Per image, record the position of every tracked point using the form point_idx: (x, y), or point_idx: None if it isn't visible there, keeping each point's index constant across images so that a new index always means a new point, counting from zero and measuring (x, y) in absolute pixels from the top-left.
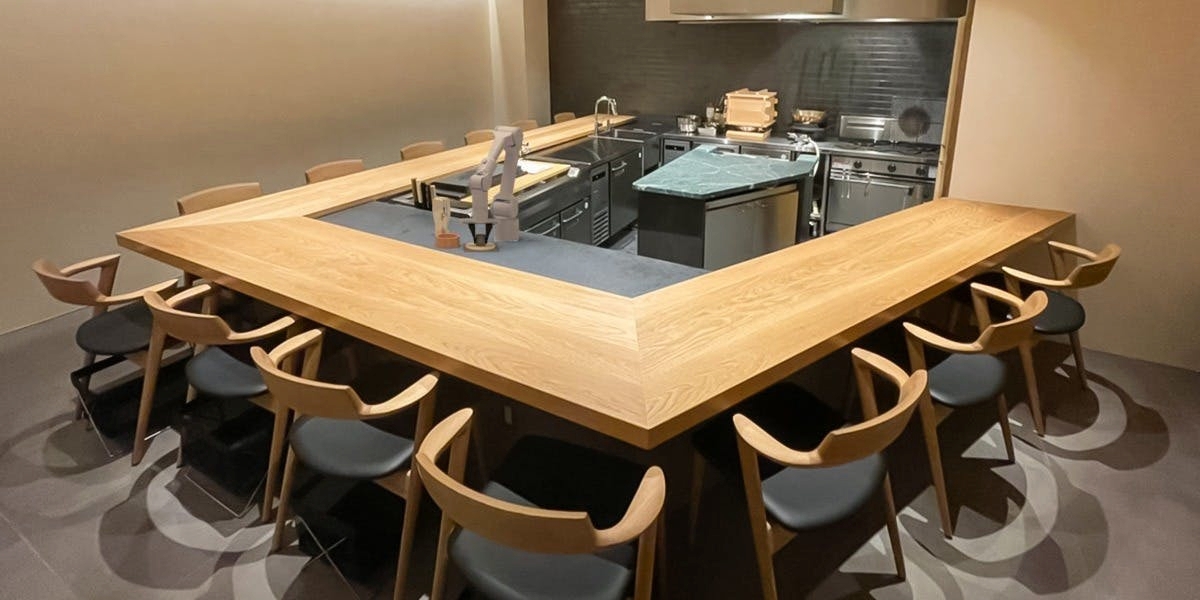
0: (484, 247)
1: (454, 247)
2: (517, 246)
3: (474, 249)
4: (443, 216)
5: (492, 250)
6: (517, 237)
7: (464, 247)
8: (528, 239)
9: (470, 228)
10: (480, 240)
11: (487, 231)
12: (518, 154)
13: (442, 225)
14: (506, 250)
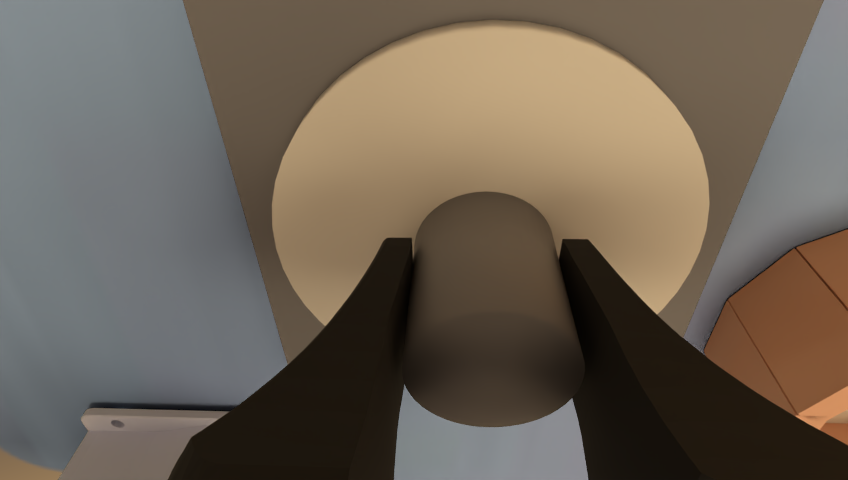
0: (434, 129)
1: (844, 242)
2: (42, 285)
3: (616, 55)
4: None
5: (306, 54)
6: (84, 458)
7: (703, 239)
8: (42, 464)
9: (837, 457)
10: (498, 252)
11: (341, 380)
12: None
13: None
14: (111, 111)
